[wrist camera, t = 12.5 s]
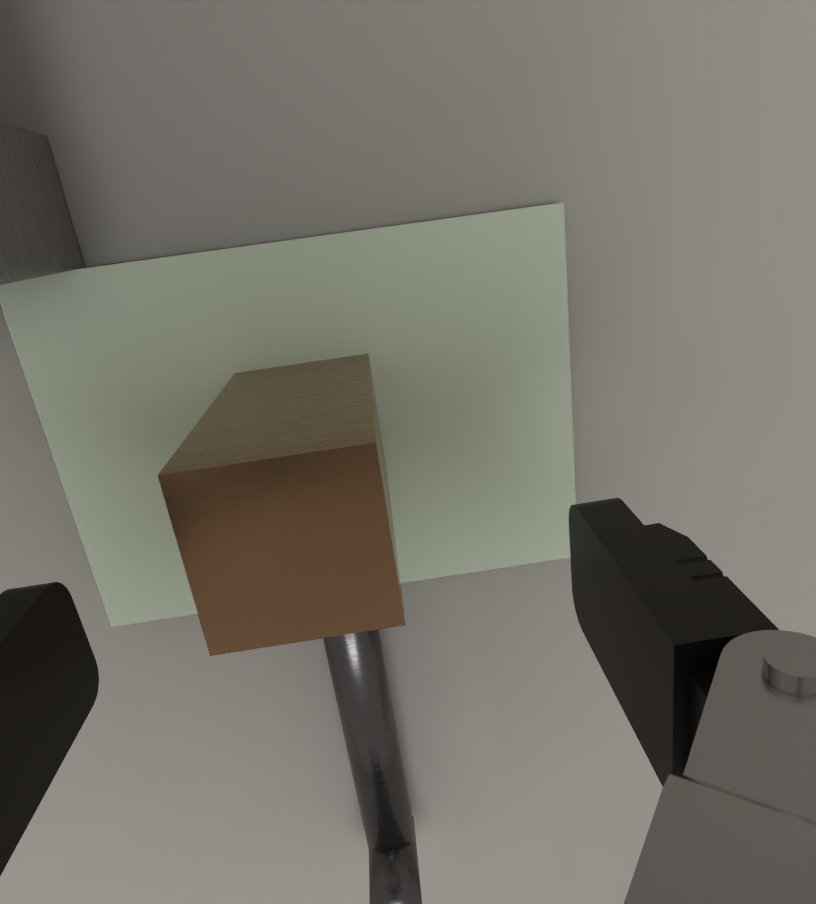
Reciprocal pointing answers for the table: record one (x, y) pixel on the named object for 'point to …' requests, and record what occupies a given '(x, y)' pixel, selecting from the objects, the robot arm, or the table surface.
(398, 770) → the wooden head mallet
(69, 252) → the slotted metal block
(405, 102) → the table surface
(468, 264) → the mat
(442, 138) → the table surface
